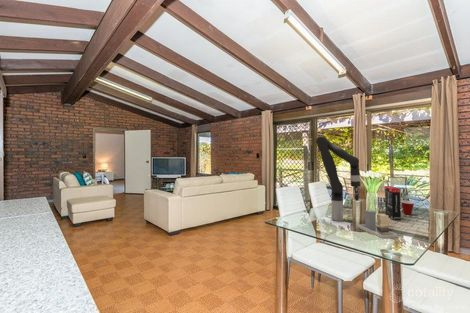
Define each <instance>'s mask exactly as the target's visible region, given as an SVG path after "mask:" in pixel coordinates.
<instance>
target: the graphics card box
mask: <svg viewBox="0 0 470 313" xmlns="http://www.w3.org/2000/svg"><path fill="white" fill-rule="evenodd" d="M384 202H385V203H384V204H385V215H388V216H389V218H390V219H391V220H393V221H401V220H402V219H401V218H402V217H401V216H402V215H401V189H400V188H397V187H395V186H393V185H385V186H384Z"/></svg>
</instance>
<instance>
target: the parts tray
mask: <svg viewBox="0 0 470 313" xmlns="http://www.w3.org/2000/svg"><path fill="white" fill-rule="evenodd" d="M357 227H358V229H360V230H362V231H364V232H366V233H368V234H371V235H373V236H375V237H377V238H379V239H383V240H384V239H393V238H395V239H396V238H398V237H399V236H398V234H397V233H394V232H392V231H390V230H389V235H381V234H378V233H377V225H376V230H370V229H367V228H365V223H363V224H357Z"/></svg>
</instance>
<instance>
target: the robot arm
mask: <svg viewBox="0 0 470 313" xmlns="http://www.w3.org/2000/svg"><path fill="white" fill-rule="evenodd" d="M315 143H316V145H317V148H318V151H319V152H320V156H321V161H322V164H323V167H324V169H325V173H326V174H327V177H328V178H329V183H330V189H331V190H330V191H331V221H334V220H335V222H342V221H344V188H343V187H344V186H343V183H341V181H340V178H339V174H338V170H337V167H336V163H335V160H334V157H333V155H332V153H333V154H334V155H336V156H337V157H338V158H340V159H341V160H344V161H346V162H347V163H348V164H349V169H350V171H349V172H350V176H349V177H350V178H349V179H350V187H353V188H352V191H353V195H354V196H353V197H354V200H355V201H356V202H357V201H359V195H360V194H359V193H360V192H359V191H360V190H359V187H361V184H362V183H361V176H360V175H361V174H360V169H359V168H360V166H359V165H360V164H359V163H360V159H359V158H358V157H357V156H354V155H353V154H350V153H349V152H348V151H346V150H344V149H343V148H341V147H339V146H337V145H336V144H334V143H332V142H331V141H330V140H328V139H327V137H326V136H324V135H320V136H318V137H317V138H316V139H315ZM331 152H332V153H331Z"/></svg>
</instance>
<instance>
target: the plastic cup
mask: <svg viewBox="0 0 470 313" xmlns="http://www.w3.org/2000/svg"><path fill="white" fill-rule="evenodd" d="M400 204H401V207H402V212H403V215H406V216H411V215H412V213H413V208H414V205H415V204H416V203H415V202H414V201H411V200H403V199H402V200H400Z"/></svg>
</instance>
